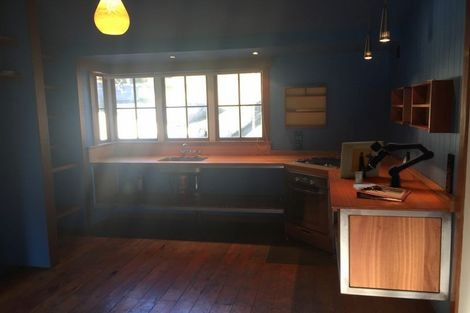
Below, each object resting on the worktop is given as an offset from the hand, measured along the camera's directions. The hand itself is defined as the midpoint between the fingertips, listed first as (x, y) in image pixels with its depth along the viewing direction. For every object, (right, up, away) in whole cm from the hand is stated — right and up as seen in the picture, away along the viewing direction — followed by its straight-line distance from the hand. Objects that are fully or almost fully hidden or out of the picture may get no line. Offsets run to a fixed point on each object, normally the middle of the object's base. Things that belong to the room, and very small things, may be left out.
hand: (363, 171), depth 274 cm
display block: (-2, -12, -8) cm, 14 cm away
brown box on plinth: (-3, -11, +2) cm, 11 cm away
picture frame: (+9, -7, +33) cm, 35 cm away
